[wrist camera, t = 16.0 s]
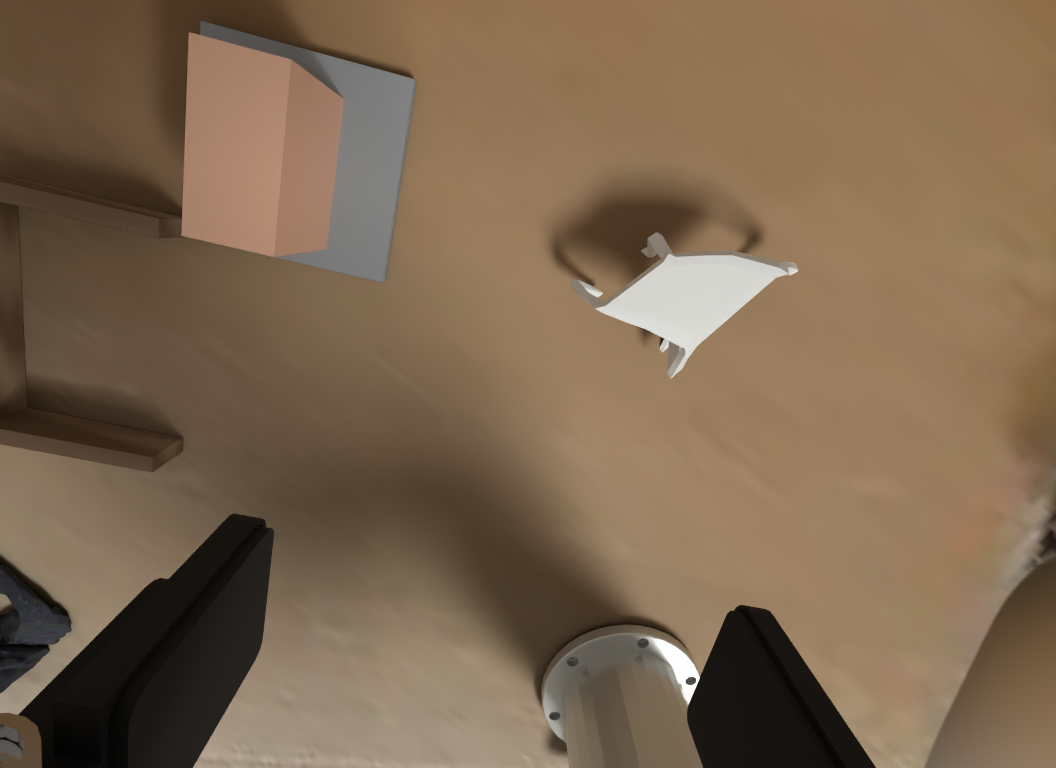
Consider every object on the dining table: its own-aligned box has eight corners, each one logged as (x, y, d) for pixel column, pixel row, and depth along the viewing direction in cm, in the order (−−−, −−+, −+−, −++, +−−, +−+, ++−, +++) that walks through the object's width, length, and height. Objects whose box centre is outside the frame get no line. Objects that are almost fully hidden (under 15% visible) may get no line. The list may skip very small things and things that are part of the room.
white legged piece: (618, 388, 34) (636, 414, 29) (563, 272, 31) (572, 281, 27) (790, 304, 32) (838, 318, 28) (746, 177, 30) (790, 169, 25)
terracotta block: (344, 99, 27) (291, 59, 21) (326, 249, 30) (274, 256, 23) (267, 79, 27) (188, 31, 20) (256, 233, 29) (181, 235, 23)
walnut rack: (182, 451, 34) (152, 472, 31) (11, 418, 33) (-37, 437, 30) (193, 219, 30) (159, 218, 27) (-4, 172, 28) (-61, 167, 26)
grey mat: (385, 281, 31) (382, 282, 30) (196, 237, 30) (190, 238, 29) (416, 82, 28) (414, 79, 27) (206, 24, 27) (200, 20, 26)
